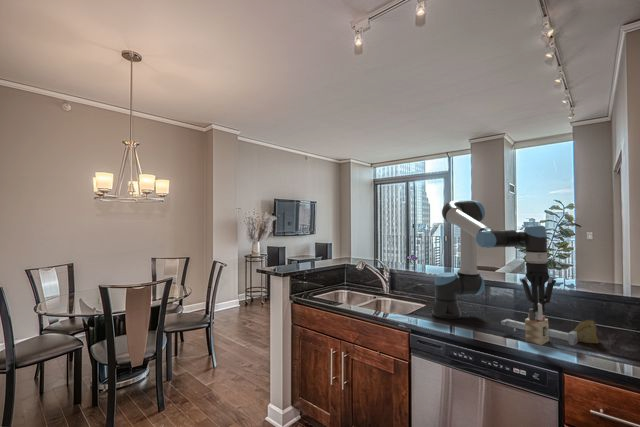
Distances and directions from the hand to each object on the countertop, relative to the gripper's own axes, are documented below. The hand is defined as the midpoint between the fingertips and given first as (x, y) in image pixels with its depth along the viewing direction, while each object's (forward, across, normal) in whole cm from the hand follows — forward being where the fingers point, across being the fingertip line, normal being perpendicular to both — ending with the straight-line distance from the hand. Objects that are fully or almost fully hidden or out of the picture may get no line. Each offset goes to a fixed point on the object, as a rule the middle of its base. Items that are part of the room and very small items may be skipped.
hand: (539, 319), depth 129 cm
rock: (+12, +22, +12) cm, 28 cm away
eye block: (+12, +2, +9) cm, 15 cm away
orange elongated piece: (+2, +1, +6) cm, 6 cm away
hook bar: (+9, +2, +9) cm, 13 cm away
